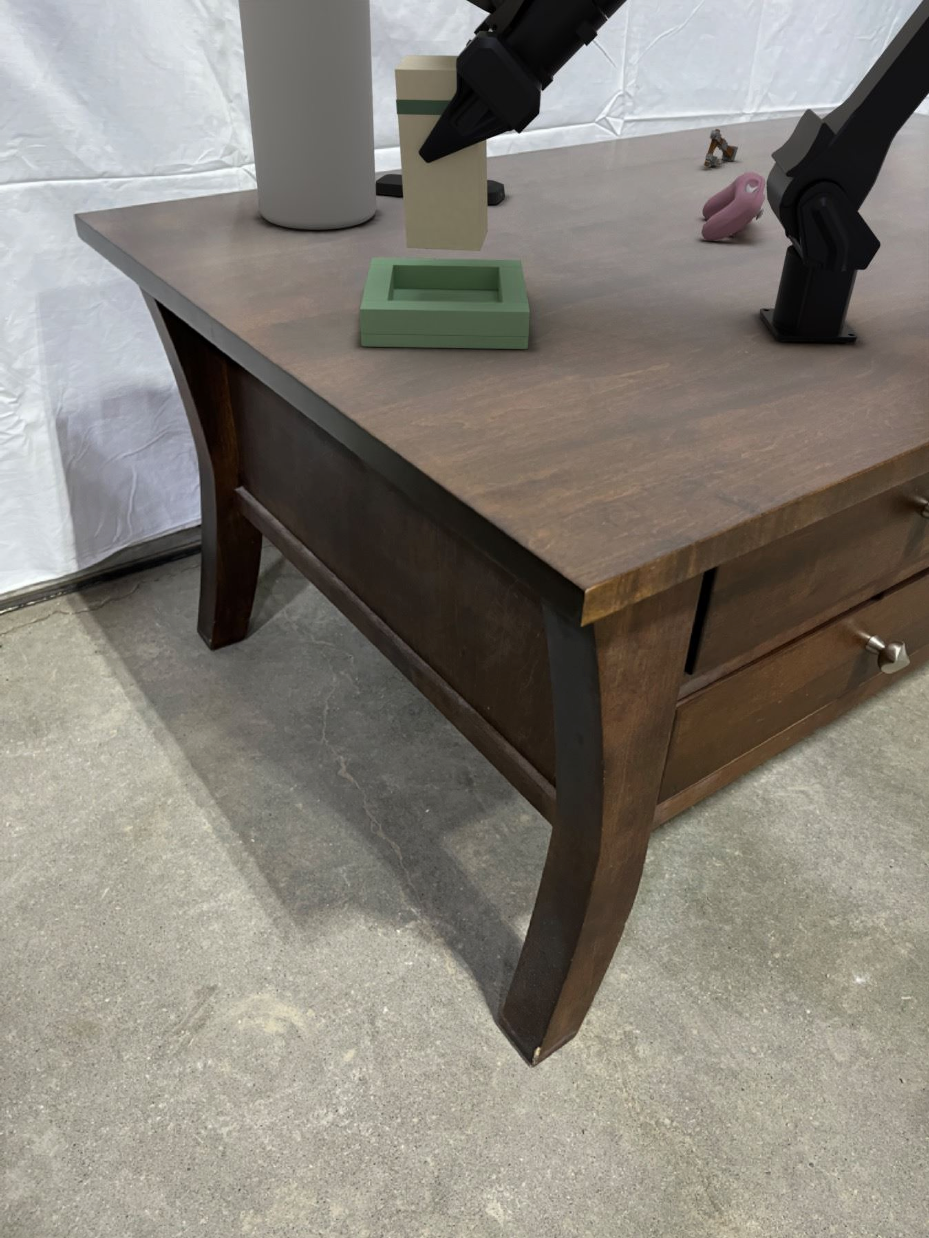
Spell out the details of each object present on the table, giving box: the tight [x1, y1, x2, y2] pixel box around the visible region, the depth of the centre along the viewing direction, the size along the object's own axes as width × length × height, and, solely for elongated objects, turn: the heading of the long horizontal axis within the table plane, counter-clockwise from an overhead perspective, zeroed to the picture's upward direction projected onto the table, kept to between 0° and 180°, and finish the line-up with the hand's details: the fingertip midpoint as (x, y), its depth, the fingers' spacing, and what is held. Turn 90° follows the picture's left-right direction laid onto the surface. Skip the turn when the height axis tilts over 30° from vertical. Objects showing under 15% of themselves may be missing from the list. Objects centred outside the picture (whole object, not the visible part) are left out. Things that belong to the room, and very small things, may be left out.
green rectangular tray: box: [359, 256, 531, 350], centre depth 81 cm, size 13×13×3 cm
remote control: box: [375, 173, 506, 205], centre depth 115 cm, size 5×2×15 cm
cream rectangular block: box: [394, 54, 489, 252], centre depth 76 cm, size 6×4×13 cm
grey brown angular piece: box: [703, 128, 739, 168], centre depth 130 cm, size 2×8×4 cm, turn 145°
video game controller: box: [701, 170, 766, 242], centre depth 104 cm, size 10×5×7 cm, turn 169°
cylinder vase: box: [238, 0, 377, 231], centre depth 99 cm, size 12×12×25 cm
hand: (426, 151), depth 76 cm, fingers closed on cream rectangular block, 5 cm apart
